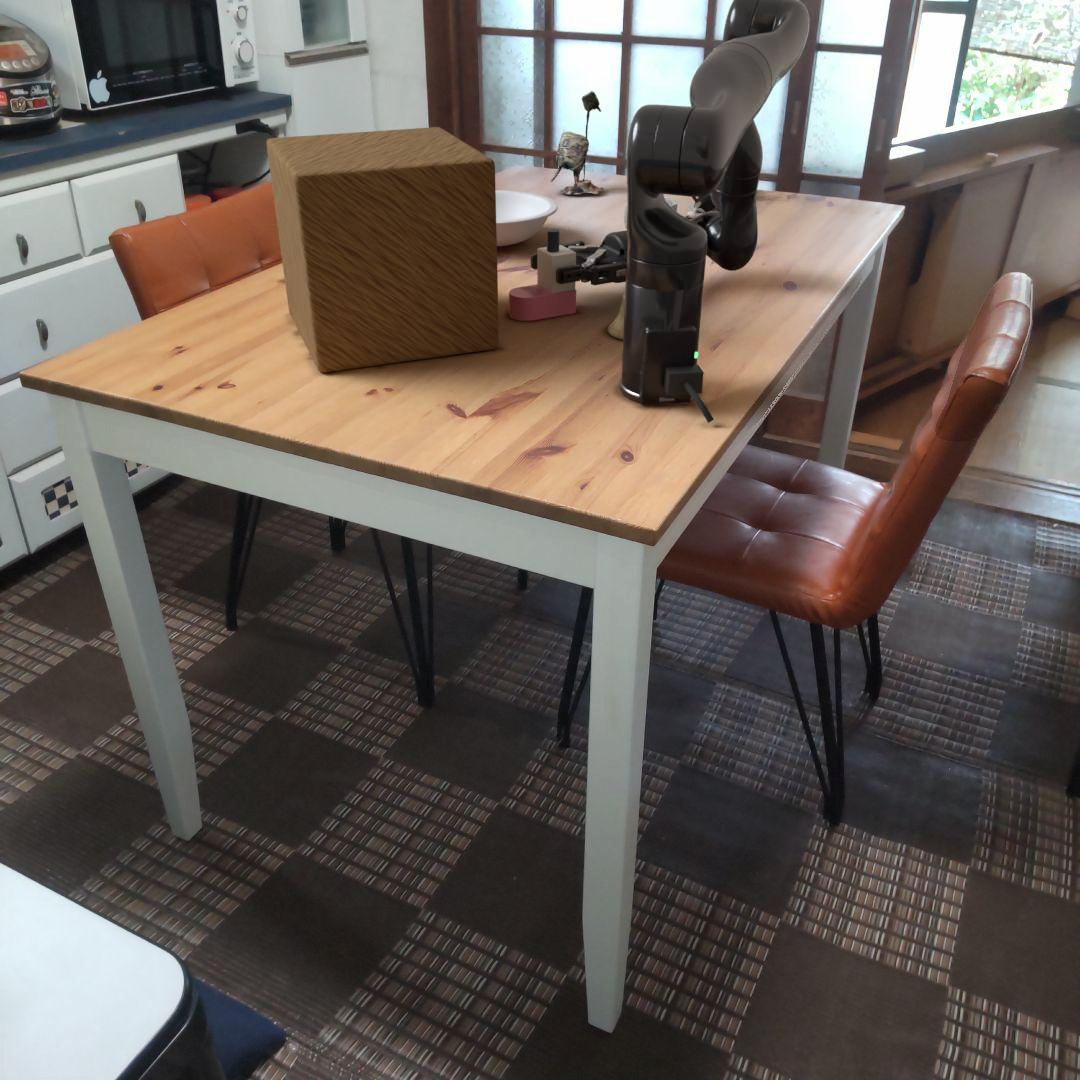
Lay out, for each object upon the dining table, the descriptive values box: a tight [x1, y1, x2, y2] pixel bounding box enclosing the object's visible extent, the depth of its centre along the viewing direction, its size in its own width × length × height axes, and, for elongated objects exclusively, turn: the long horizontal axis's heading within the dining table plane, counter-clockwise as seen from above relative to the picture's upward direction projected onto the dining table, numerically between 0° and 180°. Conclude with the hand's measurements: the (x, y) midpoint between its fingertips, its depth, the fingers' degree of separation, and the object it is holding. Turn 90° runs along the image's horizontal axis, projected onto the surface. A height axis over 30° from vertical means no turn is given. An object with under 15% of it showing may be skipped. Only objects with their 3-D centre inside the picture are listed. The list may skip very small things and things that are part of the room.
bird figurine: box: [550, 90, 604, 196], centre depth 212 cm, size 8×11×20 cm
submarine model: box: [685, 193, 717, 219], centre depth 205 cm, size 31×7×10 cm
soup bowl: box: [495, 189, 559, 247], centre depth 183 cm, size 24×24×7 cm
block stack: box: [508, 228, 577, 322], centre depth 149 cm, size 10×5×12 cm, turn 118°
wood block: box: [266, 126, 500, 373], centre depth 139 cm, size 25×25×25 cm
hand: (544, 269), depth 149 cm, fingers open, 7 cm apart
